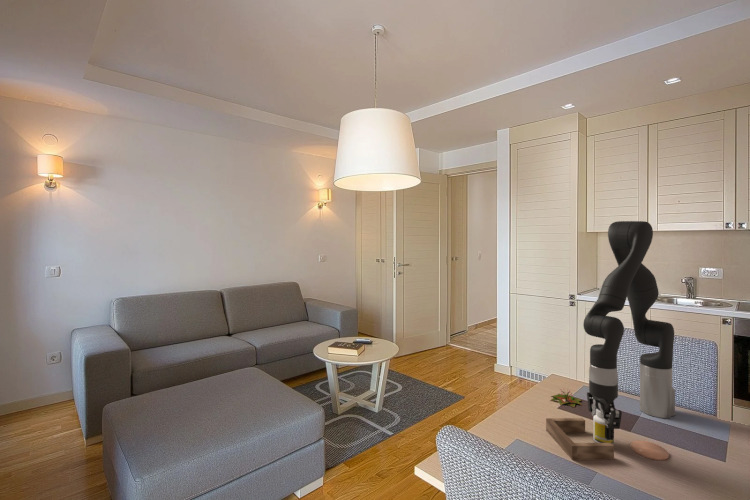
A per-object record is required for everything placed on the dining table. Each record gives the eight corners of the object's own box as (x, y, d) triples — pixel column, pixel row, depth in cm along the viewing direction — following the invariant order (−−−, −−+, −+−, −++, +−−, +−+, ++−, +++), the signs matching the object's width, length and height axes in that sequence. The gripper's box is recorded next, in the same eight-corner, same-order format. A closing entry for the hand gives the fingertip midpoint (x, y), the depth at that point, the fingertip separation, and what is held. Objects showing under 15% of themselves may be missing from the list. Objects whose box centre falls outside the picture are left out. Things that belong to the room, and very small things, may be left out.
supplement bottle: (617, 447, 109) (617, 415, 108) (597, 445, 110) (597, 413, 109) (609, 437, 114) (609, 407, 114) (590, 436, 115) (590, 405, 115)
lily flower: (577, 412, 133) (577, 399, 133) (544, 401, 142) (544, 390, 142) (588, 401, 141) (588, 390, 141) (556, 392, 150) (556, 381, 150)
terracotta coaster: (653, 442, 112) (653, 440, 112) (677, 460, 103) (677, 458, 103) (623, 442, 112) (623, 440, 112) (645, 460, 103) (645, 458, 103)
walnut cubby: (582, 430, 120) (582, 418, 119) (614, 459, 104) (614, 445, 103) (546, 430, 120) (546, 418, 120) (571, 459, 104) (571, 445, 104)
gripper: (631, 389, 104) (631, 447, 105) (601, 371, 118) (601, 421, 119) (605, 389, 104) (605, 447, 105) (578, 371, 118) (578, 422, 119)
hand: (603, 433), depth 112 cm, fingers closed on supplement bottle, 5 cm apart
